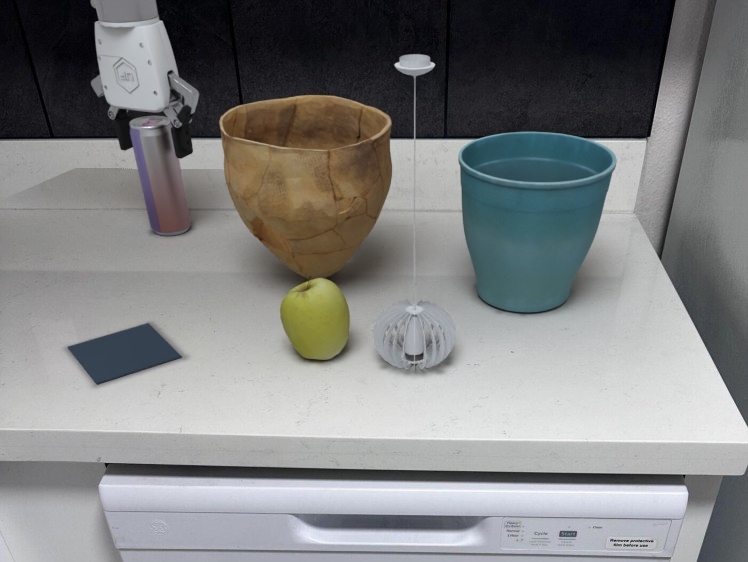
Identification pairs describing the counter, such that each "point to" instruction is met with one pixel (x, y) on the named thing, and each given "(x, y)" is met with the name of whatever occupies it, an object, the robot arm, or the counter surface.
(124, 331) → the mat
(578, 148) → the flower pot
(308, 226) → the bowl
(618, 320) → the counter surface
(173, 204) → the beverage can
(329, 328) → the apple
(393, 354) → the pendant light
